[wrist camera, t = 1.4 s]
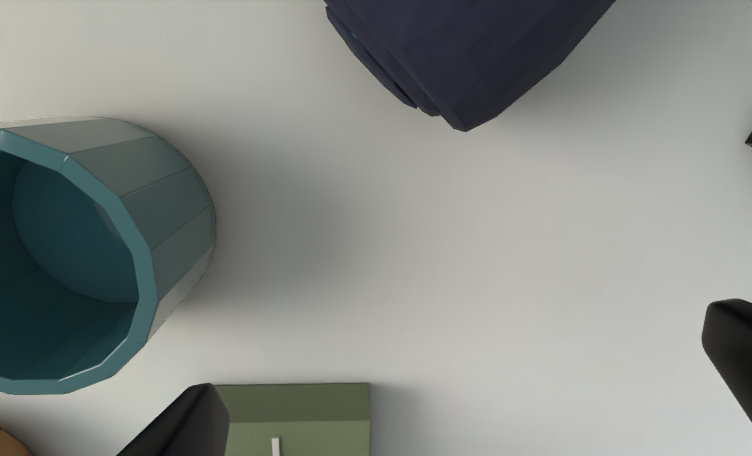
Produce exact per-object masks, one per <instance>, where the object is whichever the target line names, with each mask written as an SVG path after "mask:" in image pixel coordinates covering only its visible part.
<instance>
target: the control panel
mask: <svg viewBox="0 0 752 456" xmlns="http://www.w3.org/2000/svg"><path fill="white" fill-rule="evenodd" d="M215 387H216V389H217V391H218V393H219V395H220V396H221V398H222V400H223V402H224V404H225V405H226V407H227V409H228V411H229V416H230V425H229V431H228V437H227V443H226V450H225V456H370V439H371V412H370V393H369V384H368V383H365V384H292V385H220V386H215Z"/></svg>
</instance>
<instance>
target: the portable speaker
mask: <svg viewBox="0 0 752 456" xmlns="http://www.w3.org/2000/svg"><path fill="white" fill-rule="evenodd" d="M615 1H616V0H324V2H325V3H326V4H327V5H328V6H327V7H325V8H326V12H327V17H328V19H329V21H330V22H331V23H332V25H333V26H334V27H335V29H336V30H337V32H338V33H339V34H340V36H341V37H342V38H343V40H344V41H345V43H346V44H347V45H348V47H349V48H350V49H351V51H352V52H353V54H354V55H355V56H356V57H357V58H358V59H359V60H360V61H361V62H362V63H363V65H364V66H365V67H366V68H367V69H368V70H369V71H370V72H371V73H372V74H373V75H374V76H375V77H376V78H377V79H378V80H379V81H380V82H381V83H382V85H383V86H384V87H385V88H387V89H388V90H389V91H390V92H391V93H392V94H394V95H395V96H396V97H397V98H398V99H399V100H400V101H402V102H403V103H404V104H406V105H408V106H411V107H413V108H415V109H417V106H418V107H419V108H420V109H421V110H422V111H423V112H425V113H426V114H428V115H430V116H439V115H441V116H442V117H443V118H444V119H445V120H446V121H447V122H448V123H449V124H450V125H451V126H452V127H453V129H457V130H460V131H463V132H467V131H469V130H471V129H473V128H475V127H477V126H479V125H481V124H483V123H485V122H487V121H489V120H491V119H493V118H495V117H497V116H498V115H499V114H500V113H502V112H503V111H504V110H505V109H506V108H508V107H509V106H510V105H511V104H513V103H514V102H515V101H516V100H517V99H519V98H520V97H521V96H522V95H523V94H525V93H526V92H527V91H528V90H530V89H531V88H532V87H533V86H534V85H536V84H537V83H538V82H539V81H540V80H542V79H543V78H544V77H545V76H547V75H548V74H549V73H550V72H551V71H553V70H554V69H555V68H556V67H557V66H559V65H560V64H561V63H562V62H563V61H564V60H565V59H566V57H567V56H568V55H569V54H570V53H571V52H572V50H573V49H574V48H575V47H576V46H577V45H578V44H579V42H580V41H581V40H582V39H583V38H584V37H585V35H586V34H587V33H588V32H589V31H590V30H591V28H592V27H593V26H594V25H595V24H596V23H597V22H598V20H599V19H600V18H601V17H602V16H603V15H604V13H605V12H606V11H607V10H608V9H609V8H610V7H611V5H612V4H613V3H614V2H615Z"/></svg>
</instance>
